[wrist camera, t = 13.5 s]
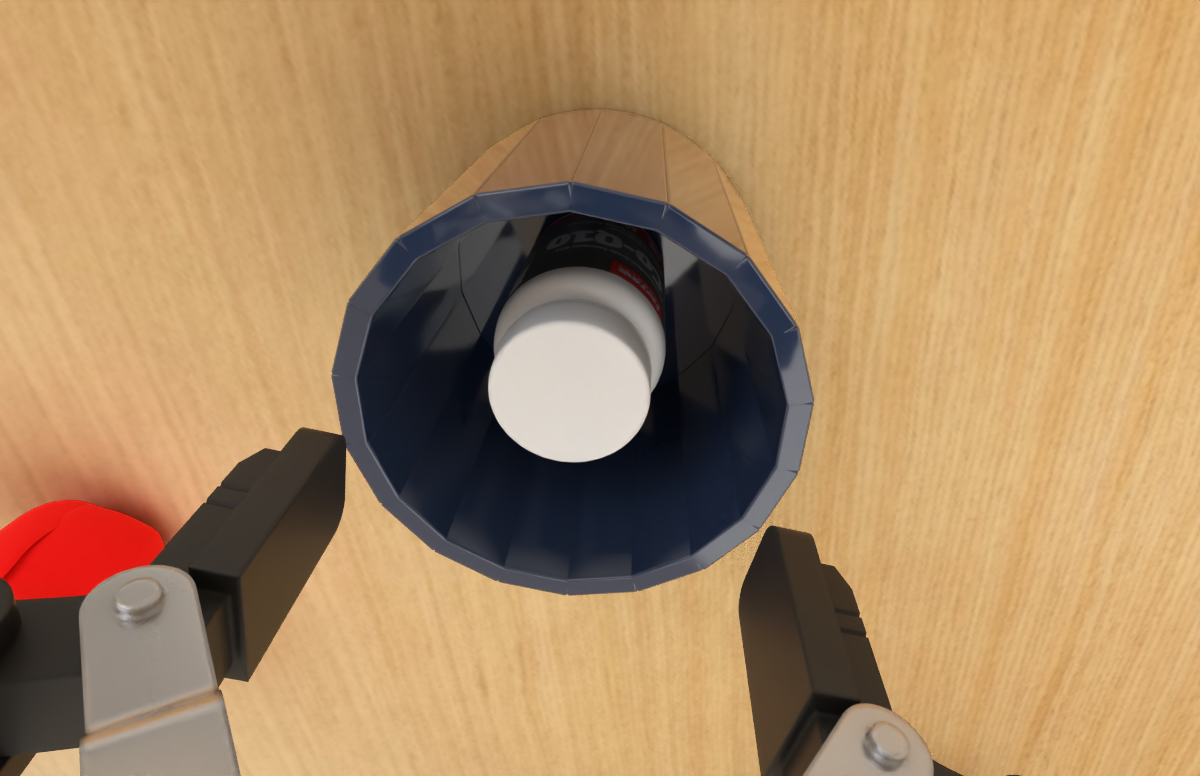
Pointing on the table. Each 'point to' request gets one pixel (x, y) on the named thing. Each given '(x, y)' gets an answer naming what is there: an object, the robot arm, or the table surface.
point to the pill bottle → (580, 340)
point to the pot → (677, 404)
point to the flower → (72, 549)
